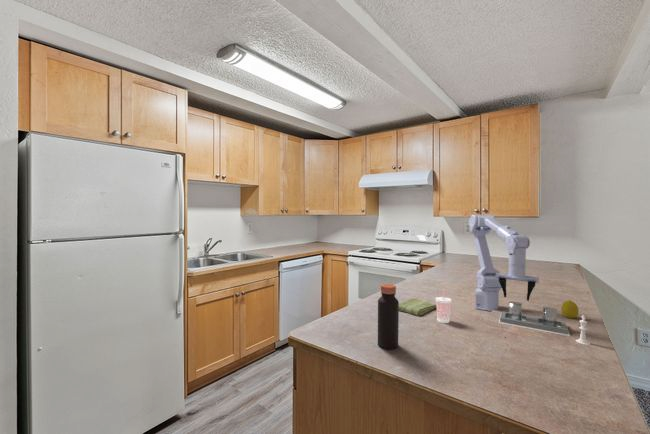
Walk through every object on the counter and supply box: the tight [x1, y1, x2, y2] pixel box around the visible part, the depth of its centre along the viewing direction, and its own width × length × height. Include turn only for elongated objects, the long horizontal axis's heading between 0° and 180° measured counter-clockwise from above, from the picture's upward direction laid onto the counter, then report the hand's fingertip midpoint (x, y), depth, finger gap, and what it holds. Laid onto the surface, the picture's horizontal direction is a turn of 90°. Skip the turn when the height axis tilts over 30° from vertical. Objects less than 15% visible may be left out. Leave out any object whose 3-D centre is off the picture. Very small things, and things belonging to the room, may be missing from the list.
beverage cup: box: [435, 286, 452, 324], centre depth 122 cm, size 6×6×14 cm
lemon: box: [560, 299, 579, 319], centre depth 124 cm, size 6×6×8 cm
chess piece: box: [575, 314, 591, 346], centre depth 101 cm, size 5×5×10 cm
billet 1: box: [508, 301, 523, 321], centre depth 120 cm, size 4×4×7 cm
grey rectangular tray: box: [497, 310, 571, 337], centre depth 117 cm, size 22×13×2 cm, turn 56°
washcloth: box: [399, 297, 437, 317], centre depth 137 cm, size 13×18×3 cm
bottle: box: [377, 283, 400, 350], centre depth 100 cm, size 7×7×20 cm
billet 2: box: [542, 306, 558, 327], centre depth 114 cm, size 4×4×7 cm
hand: (516, 298), depth 120 cm, fingers open, 7 cm apart
